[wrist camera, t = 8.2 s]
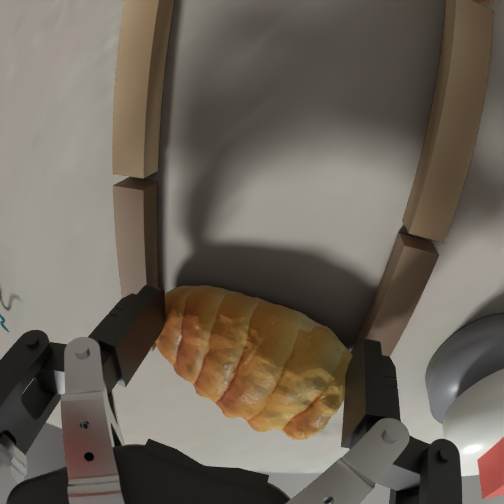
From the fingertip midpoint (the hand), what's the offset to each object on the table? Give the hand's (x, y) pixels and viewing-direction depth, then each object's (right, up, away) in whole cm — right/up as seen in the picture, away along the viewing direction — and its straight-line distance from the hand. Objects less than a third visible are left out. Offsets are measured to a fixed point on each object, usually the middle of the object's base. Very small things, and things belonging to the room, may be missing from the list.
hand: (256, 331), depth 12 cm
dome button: (+12, -5, -1) cm, 13 cm away
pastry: (0, +2, +3) cm, 4 cm away
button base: (+12, -3, +1) cm, 13 cm away
